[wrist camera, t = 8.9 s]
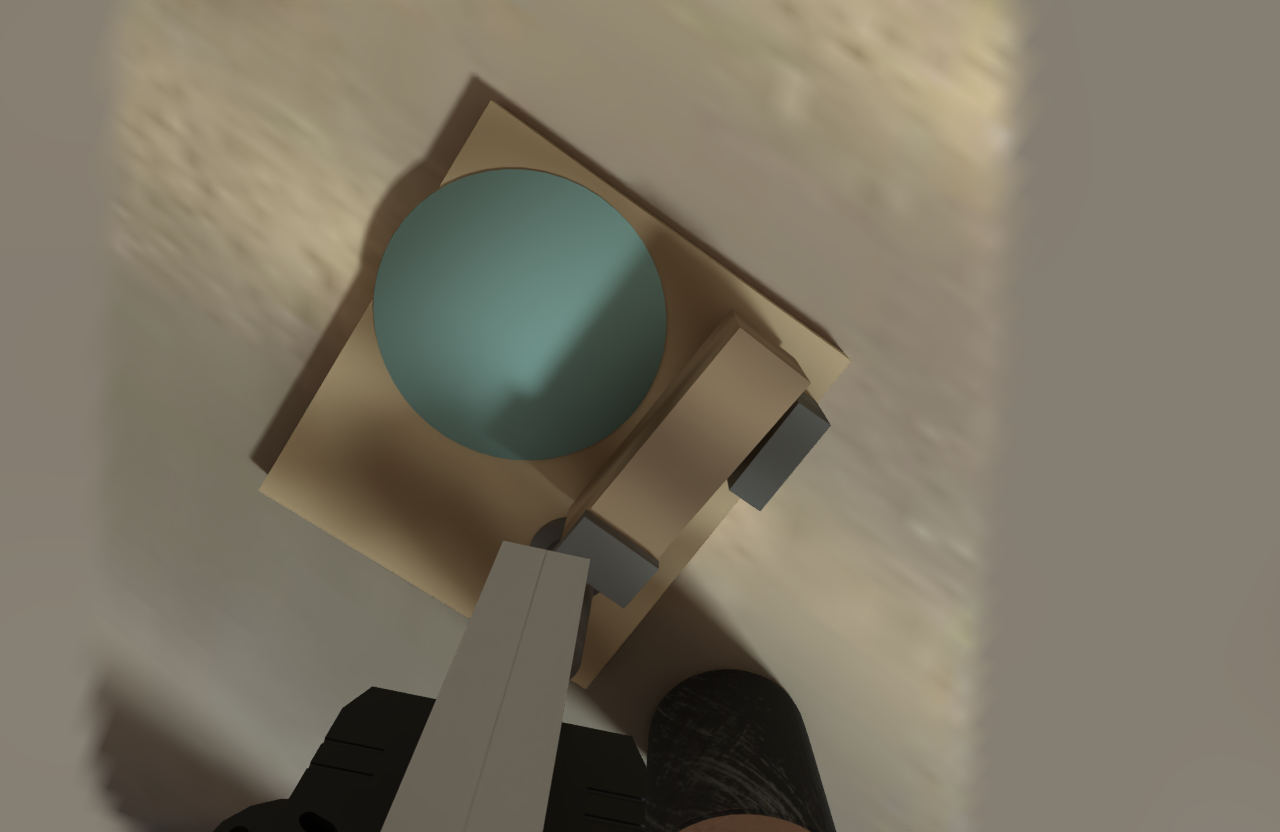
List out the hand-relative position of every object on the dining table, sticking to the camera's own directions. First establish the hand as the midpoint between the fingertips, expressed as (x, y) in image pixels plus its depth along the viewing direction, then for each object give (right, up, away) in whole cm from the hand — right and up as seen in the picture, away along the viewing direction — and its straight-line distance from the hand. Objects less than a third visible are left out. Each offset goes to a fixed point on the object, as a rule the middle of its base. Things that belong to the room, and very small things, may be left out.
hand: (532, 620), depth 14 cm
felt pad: (-3, +7, +16) cm, 18 cm away
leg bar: (+3, +3, +17) cm, 17 cm away
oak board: (-2, +3, +19) cm, 19 cm away
